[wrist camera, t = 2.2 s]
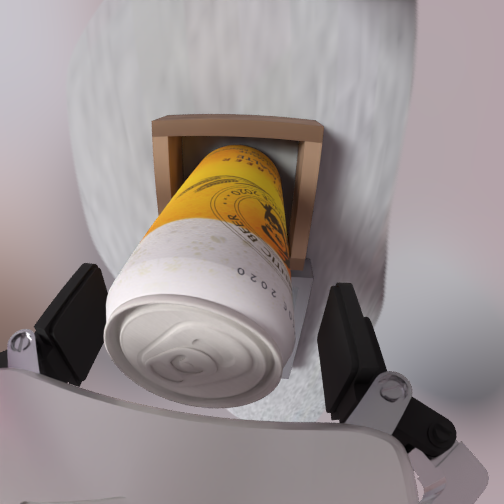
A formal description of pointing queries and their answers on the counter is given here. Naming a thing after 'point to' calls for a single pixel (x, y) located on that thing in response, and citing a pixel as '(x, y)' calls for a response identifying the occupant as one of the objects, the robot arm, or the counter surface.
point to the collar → (302, 130)
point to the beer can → (209, 289)
